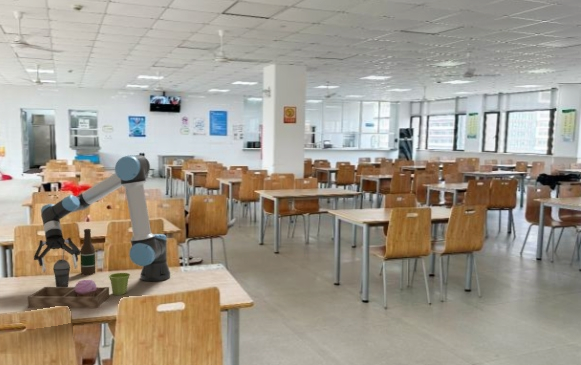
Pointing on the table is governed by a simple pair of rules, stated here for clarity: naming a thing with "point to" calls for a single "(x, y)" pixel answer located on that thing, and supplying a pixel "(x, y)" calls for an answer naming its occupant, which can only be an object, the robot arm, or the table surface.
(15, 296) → the table surface
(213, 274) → the table surface
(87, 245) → the beer bottle
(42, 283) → the table surface
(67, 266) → the beverage cup
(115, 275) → the plant pot
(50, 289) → the tray
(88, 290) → the cupcake
